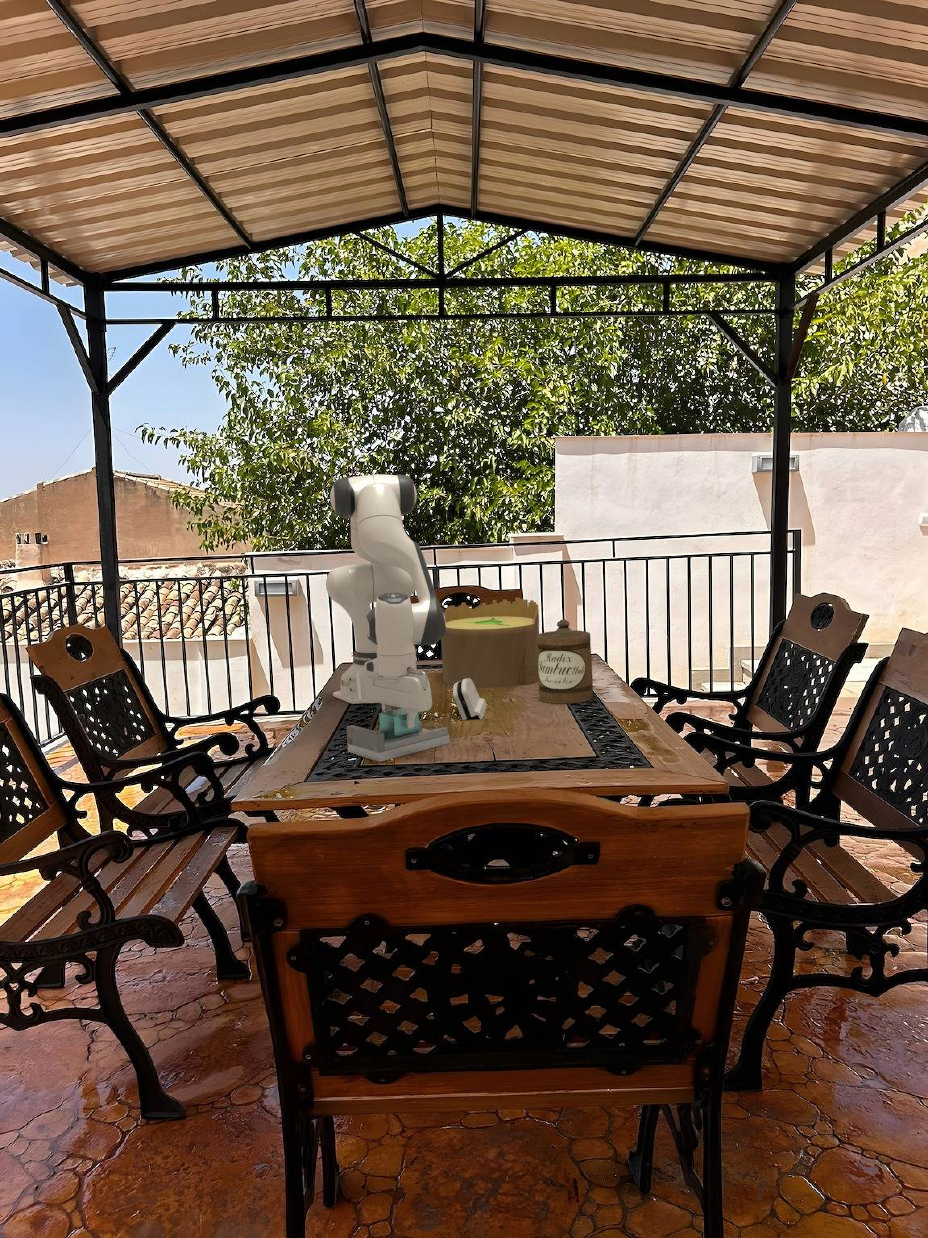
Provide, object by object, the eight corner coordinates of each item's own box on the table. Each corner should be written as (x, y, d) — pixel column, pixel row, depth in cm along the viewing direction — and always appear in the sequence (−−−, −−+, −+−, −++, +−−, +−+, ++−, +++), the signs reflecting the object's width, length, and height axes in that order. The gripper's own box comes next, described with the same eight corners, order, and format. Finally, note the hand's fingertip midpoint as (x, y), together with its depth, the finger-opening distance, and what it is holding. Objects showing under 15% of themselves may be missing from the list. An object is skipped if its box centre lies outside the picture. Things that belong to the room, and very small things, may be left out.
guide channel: (347, 752, 203) (346, 726, 202) (417, 734, 216) (416, 710, 215) (379, 762, 194) (377, 735, 193) (449, 743, 207) (448, 717, 206)
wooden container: (532, 703, 245) (529, 623, 242) (548, 692, 259) (545, 616, 256) (585, 705, 239) (583, 623, 237) (598, 694, 253) (596, 616, 250)
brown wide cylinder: (488, 665, 307) (485, 595, 304) (566, 676, 282) (564, 599, 279) (417, 680, 286) (413, 605, 283) (495, 693, 260) (491, 611, 257)
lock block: (380, 734, 204) (379, 713, 204) (406, 728, 209) (405, 707, 209) (395, 738, 200) (393, 716, 199) (421, 732, 205) (420, 710, 204)
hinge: (481, 719, 228) (467, 683, 228) (464, 726, 229) (449, 690, 228) (487, 705, 245) (473, 671, 244) (471, 711, 246) (457, 677, 245)
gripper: (437, 668, 197) (440, 729, 199) (381, 659, 212) (384, 716, 214) (414, 672, 193) (417, 735, 195) (359, 663, 208) (363, 721, 210)
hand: (400, 725), depth 204 cm, fingers closed on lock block, 5 cm apart
